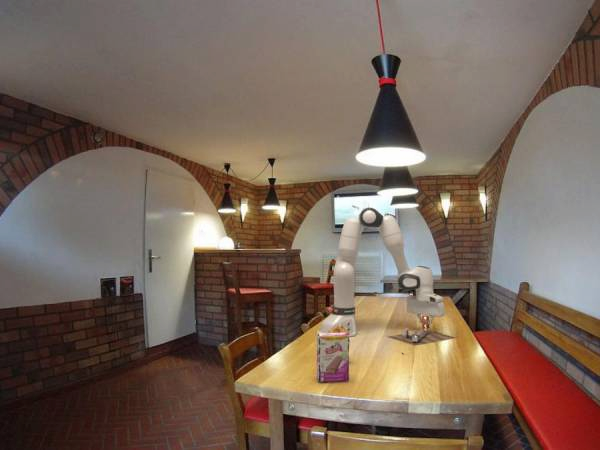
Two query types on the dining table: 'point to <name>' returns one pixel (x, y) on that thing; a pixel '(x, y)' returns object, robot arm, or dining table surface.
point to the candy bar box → (332, 357)
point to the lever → (424, 329)
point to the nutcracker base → (427, 338)
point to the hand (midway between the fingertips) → (425, 323)
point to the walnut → (411, 333)
